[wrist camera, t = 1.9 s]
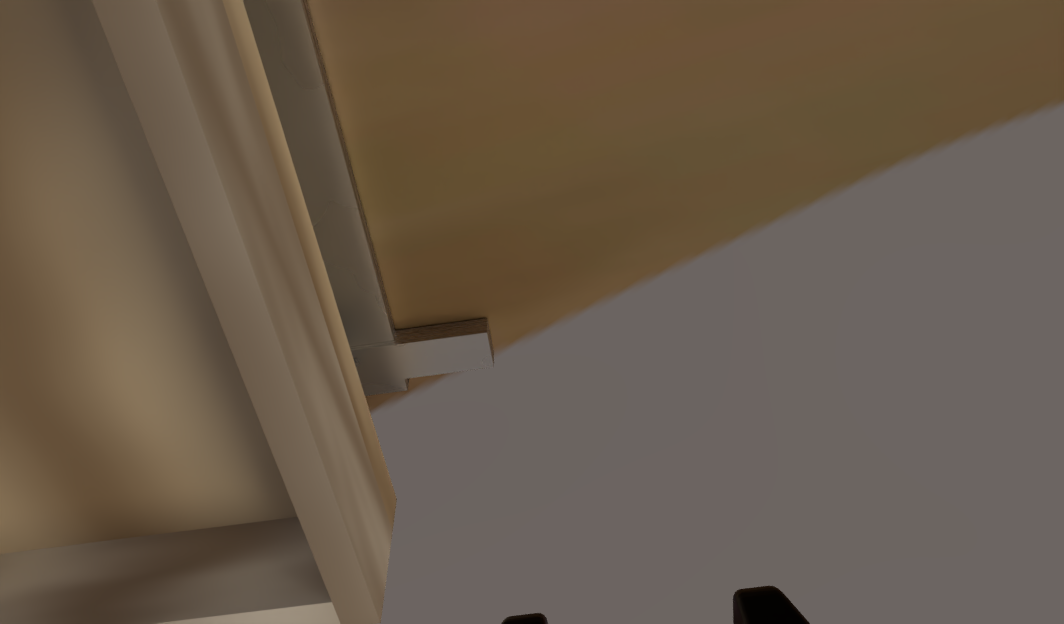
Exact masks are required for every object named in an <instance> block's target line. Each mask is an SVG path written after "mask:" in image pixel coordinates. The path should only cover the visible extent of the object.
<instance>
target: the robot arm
mask: <svg viewBox="0 0 1064 624" xmlns="http://www.w3.org/2000/svg"><path fill="white" fill-rule="evenodd" d="M733 623H734V624H810V623H809V622H808V621H807V620H806V619H805V617H804V616H803V615H802V614H801V613H800V612H799V611H798V609H797V608H796V607H795V606H794V605H793V604H792V603H791V601H790V600H789V599H788V598H787V597H786V596H785V595H784V594H783V592H781V591H780V590H779V589H778V588H776V587H774V586H763V587H754V588H745V589H740V590H737V591H736V592H735V594H734V596H733ZM502 624H548V622H547V618H546V617H545V616H544V615H543V614H541V613H534V614H525V615H517V616H510V617H507V618H506V619H505V620H504V621H503V622H502Z"/></svg>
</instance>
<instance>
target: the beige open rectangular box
mask: <svg viewBox="0 0 1064 624" xmlns="http://www.w3.org/2000/svg"><path fill="white" fill-rule="evenodd" d="M396 500H397V499H396V496H395V492H394V489H393V486H392V483H391V480H390V476H389V473H388V470H387V466H386V463H385V460H384V457H383V453H382V450H381V447H380V444H379V440H378V437H377V434H376V431H375V427H374V424H373V421H372V419H371V414H370V411H369V408H368V405H367V401H366V398H365V395H364V392H363V389H362V385H361V382H360V379H359V376H358V372H357V369H356V366H355V363H354V359H353V356H352V353H351V350H350V346H349V343H348V340H347V337H346V333H345V330H344V327H343V324H342V320H341V317H340V314H339V311H338V307H337V304H336V301H335V298H334V294H333V291H332V288H331V285H330V281H329V278H328V275H327V272H326V269H325V265H324V262H323V259H322V256H321V252H320V249H319V246H318V243H317V239H316V236H315V233H314V230H313V226H312V223H311V220H310V217H309V213H308V210H307V207H306V204H305V200H304V197H303V194H302V191H301V187H300V184H299V181H298V178H297V174H296V171H295V168H294V165H293V162H292V158H291V155H290V152H289V149H288V145H287V142H286V139H285V136H284V132H283V129H282V126H281V123H280V119H279V116H278V113H277V110H276V106H275V103H274V100H273V97H272V93H271V90H270V87H269V84H268V80H267V77H266V74H265V71H264V67H263V64H262V61H261V58H260V54H259V51H258V48H257V45H256V42H255V38H254V35H253V32H252V29H251V25H250V22H249V19H248V16H247V12H246V9H245V6H244V3H243V0H0V624H377V623H381V615H382V608H383V600H384V592H385V585H386V577H387V569H388V562H389V554H390V546H391V539H392V531H393V523H394V515H395V508H396Z"/></svg>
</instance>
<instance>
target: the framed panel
mask: <svg viewBox="0 0 1064 624" xmlns="http://www.w3.org/2000/svg"><path fill="white" fill-rule="evenodd" d="M243 3H244V6H245V9H246V12H247V16H248V19H249V22H250V25H251V29H252V32H253V35H254V38H255V42H256V45H257V48H258V51H259V54H260V58H261V61H262V64H263V67H264V71H265V74H266V77H267V80H268V84H269V87H270V90H271V93H272V97H273V100H274V103H275V106H276V110H277V113H278V116H279V119H280V123H281V126H282V129H283V132H284V136H285V139H286V142H287V145H288V149H289V152H290V155H291V158H292V162H293V165H294V168H295V171H296V174H297V178H298V181H299V184H300V187H301V191H302V194H303V197H304V200H305V204H306V207H307V210H308V213H309V217H310V220H311V223H312V226H313V230H314V233H315V236H316V239H317V243H318V246H319V249H320V252H321V256H322V259H323V262H324V265H325V269H326V272H327V275H328V278H329V281H330V285H331V288H332V291H333V294H334V298H335V301H336V304H337V307H338V311H339V314H340V317H341V320H342V324H343V327H344V330H345V333H346V337H347V340H348V343H349V346H350V350H351V353H352V356H353V359H354V363H355V366H356V369H357V372H358V376H359V379H360V382H361V385H362V389H363V392H364V395H365V396H368V395H375V394H383V393H390V392H398V391H406V390H408V383H409V379H408V378H414V377H422V376H430V375H437V374H445V373H452V372H460V371H468V370H475V369H483V368H490V367H494V350H493V345H492V340H491V335H490V330H489V325H488V320H487V318H485V319H478V320H470V321H463V322H455V323H448V324H440V325H433V326H425V327H418V328H410V329H403V330H395V327H394V323H393V319H392V316H391V312H390V308H389V305H388V301H387V297H386V293H385V290H384V286H383V282H382V279H381V275H380V271H379V268H378V264H377V260H376V256H375V253H374V249H373V245H372V242H371V238H370V234H369V231H368V227H367V223H366V219H365V216H364V212H363V208H362V205H361V201H360V197H359V194H358V190H357V186H356V182H355V179H354V175H353V171H352V168H351V164H350V160H349V157H348V153H347V149H346V145H345V142H344V138H343V134H342V131H341V127H340V123H339V120H338V116H337V112H336V108H335V105H334V101H333V97H332V94H331V90H330V86H329V83H328V79H327V75H326V71H325V68H324V64H323V60H322V57H321V53H320V49H319V46H318V42H317V38H316V34H315V31H314V27H313V23H312V20H311V16H310V12H309V9H308V5H307V1H306V0H243Z"/></svg>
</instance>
